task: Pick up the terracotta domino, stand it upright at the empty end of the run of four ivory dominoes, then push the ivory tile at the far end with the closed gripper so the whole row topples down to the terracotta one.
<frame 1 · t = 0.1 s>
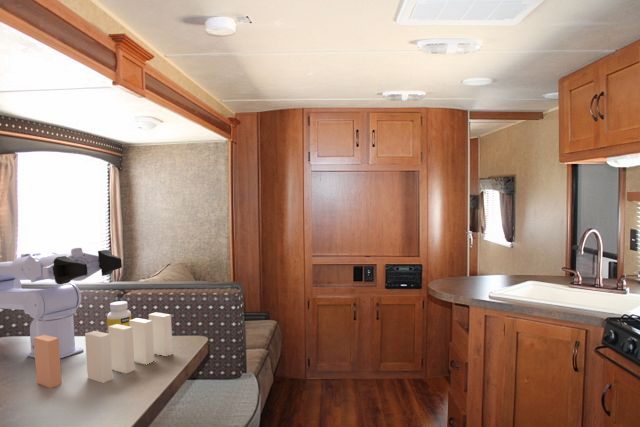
hand: (103, 265, 92), 22 cm above the table, tool horizontal, fingers open, 7 cm apart
terracotta domino: (49, 383, 87), on the table
supplement bottle: (120, 343, 110), on the table
domino 4: (100, 378, 88), on the table
domino 2: (142, 361, 97), on the table
domino 1: (161, 353, 101), on the table
domino 3: (122, 369, 93), on the table
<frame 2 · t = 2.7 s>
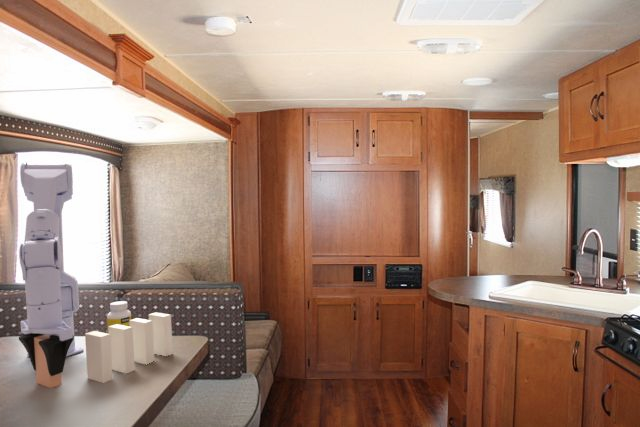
hand: (48, 371, 87), 2 cm above the table, tool pointing down, fingers closed on terracotta domino, 5 cm apart
terracotta domino: (49, 383, 87), on the table, touching gripper
everything else where it was.
when the fingers open (3 cm above the table, at t = 6.6 s): terracotta domino stays where it is, on the table.
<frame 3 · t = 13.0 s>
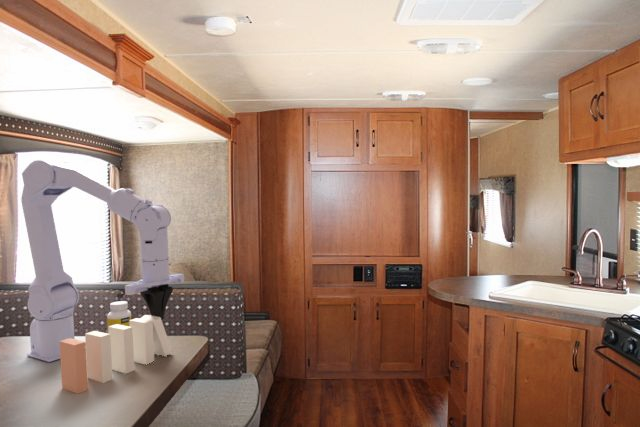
hand: (158, 319, 100), 8 cm above the table, tool pointing down, fingers closed
terracotta domino: (75, 388, 84), on the table
domino 1: (161, 352, 101), on the table, tilted 18°
everything else where it was.
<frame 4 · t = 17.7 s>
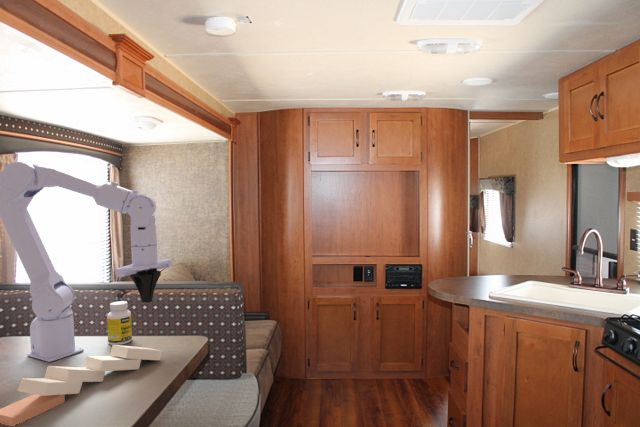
hand: (146, 301, 107), 10 cm above the table, tool pointing down, fingers closed
terracotta domino: (54, 396, 80), on the table, tilted 90°
domino 4: (68, 385, 82), point 1 cm above the table, tilted 67°, touching domino 3
domino 2: (132, 362, 94), point 1 cm above the table, tilted 72°, touching domino 1
domino 1: (153, 353, 99), point 1 cm above the table, tilted 68°, touching domino 2
domino 3: (93, 374, 88), point 1 cm above the table, tilted 67°, touching domino 4
everything else where it was.
at the end: domino 1 tilted 68°; terracotta domino tilted 90°; terracotta domino inside the target area (4.1 cm from its centre), point 0.6 cm above the table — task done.
